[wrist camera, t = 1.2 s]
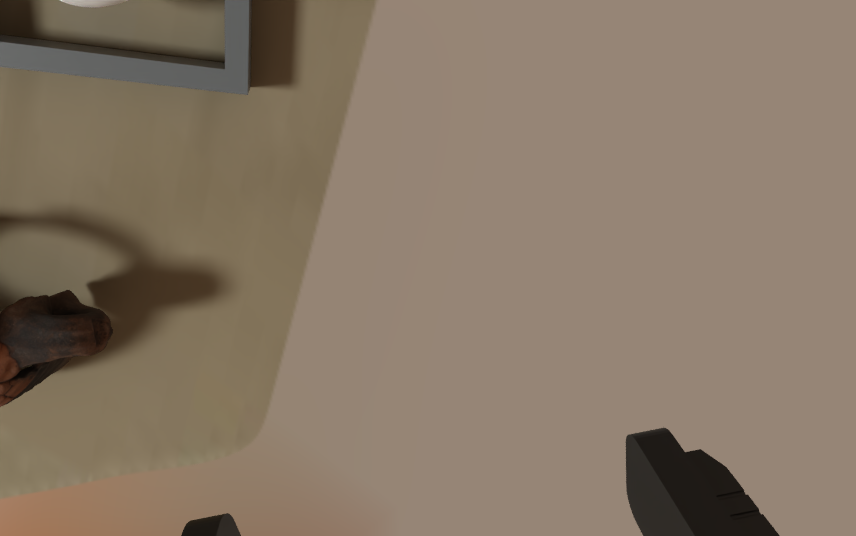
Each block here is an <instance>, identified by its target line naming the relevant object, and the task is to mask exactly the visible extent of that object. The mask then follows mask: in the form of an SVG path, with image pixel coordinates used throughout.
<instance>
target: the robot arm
mask: <svg viewBox="0 0 856 536" xmlns="http://www.w3.org/2000/svg"><path fill="white" fill-rule="evenodd" d="M626 484H627V495H628V500H629V504H630V507H631V510H632V513H633V515H634V518H635V520H636V522H637V524H638V526H639V528H640V530H641V532H642V534H643V536H779V534H778V533H777V532H776V531H775V529H774V528H773V527H772V525H771V524H770V523H769V522H768V520H767V519H766V518H765V517H764V515H763V514H762V515H761V514H760V512H759V509H758V507H757V506H756V505H755V504H754V502H753V501H752V500H751V498H750V497H749V496H748V495H745V492H744V489H743V488H742V487H741V486H740V484H739V483H738V482H737V480H736V479H735V478H734V476H733V475H732V474H731V473H730V471H729V470H728V469H727V467H725V466H724V465H723V464H721V463H720V462H718V461H717V460H715V459H714V458H712V457H711V456H709V455H708V454H706V453H705V452H704V451H702V450H701V449H700V450H695V451H690V452H684V450H683V449H682V448H681V446H680V445H679V443H678V442H677V440H676V439H675V438H674V436H673V435H672V434H671V432H670V431H669V430H668V429H666V428H661V429H655V430H650V431H646V432H640V433H635V434H631V435H628V436H627V438H626ZM181 536H241V535H240V532H239V530H238V528H237V526H236V523H235V521H234V519H233V517H232V516H231V515H230V514H228V513H227V514H222V515H217V516H212V517H207V518H202V519H197V520H192V521H189V522H188V523H187V524H186V526H185V528H184V530H183V532H182V535H181Z"/></svg>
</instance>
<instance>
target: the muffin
mask: <svg viewBox="0 0 856 536" xmlns="http://www.w3.org/2000/svg"><path fill="white" fill-rule="evenodd" d="M60 1H62V2H65V3H68V4H71V5H75V6H80V7H93V8H97V7H107V6H112V5H117V4H120V3H123V2H126V1H128V0H60Z"/></svg>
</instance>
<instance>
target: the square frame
mask: <svg viewBox="0 0 856 536" xmlns="http://www.w3.org/2000/svg"><path fill="white" fill-rule="evenodd" d="M251 16H252V0H225V63H222V62H214V61H206V60H198V59H190V58H183V57H175V56H167V55H159V54H151V53H143V52H135V51H127V50H119V49H111V48H103V47H96V46H88V45H80V44H72V43H64V42H56V41H48V40H40V39H32V38H24V37H17V36H9V35H1V34H0V67H7V68H16V69H25V70H34V71H42V72H51V73H60V74H69V75H78V76H86V77H95V78H104V79H113V80H122V81H131V82H139V83H148V84H157V85H166V86H175V87H183V88H192V89H201V90H210V91H219V92H227V93H236V94H245V95H248V93H249V90H250V79H251Z"/></svg>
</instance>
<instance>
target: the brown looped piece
mask: <svg viewBox="0 0 856 536" xmlns="http://www.w3.org/2000/svg"><path fill="white" fill-rule="evenodd" d="M112 333H113V329H112V327H111V325H110V319H109V317H108V316H107V315H106V314H105V313H104V312H103V311H102V310H99V309H96V308H93V307H89V306H85V305H83V304H81V303H80V302H79V300H78V298H77V297H76V296H75V295H74V294H73V293H72V292H71V291H70V290H66V291H63V292H60V293H57V294H55V295H52V296H50V297H49V296H47V295H43V296H39V297H33V296H31V297H25V298H22V299H20V300H18V301H17V302H16V303H14V304H12V305H10V306H8V307H7V308H6V309H4V310H3V311H2V312H1V314H0V407H1V406H3V405H5V404H8V403H9V402H11V401H13V400H14V399H16V398H18V397H20V396H21V395H22V394H23V393H25V392H27V391H29V390H31V389H32V388H33V387H34V386H35V385H37V384H39V383H41V382H42V381H43V380H44V379H46V378H47V377H48V376H50V375H51V374H53V373H54V372H56V371H58V370H59V369H60V368H62V367H63V366H64V365H65V364H66V363H67V362H68V361H69V360H70V359H71V358H72V357H74V356H83V355H93V354H96V353H98V352H101V351H102V350H103V349H104V348H105V347H106V345H107V343H108V340H109V339H110V337H111V335H112ZM31 364H33V365H32V366H30V367H27V368H25V369H24V370H22V371H20V370H21V368H22V367H25V366H28V365H31Z"/></svg>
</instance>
